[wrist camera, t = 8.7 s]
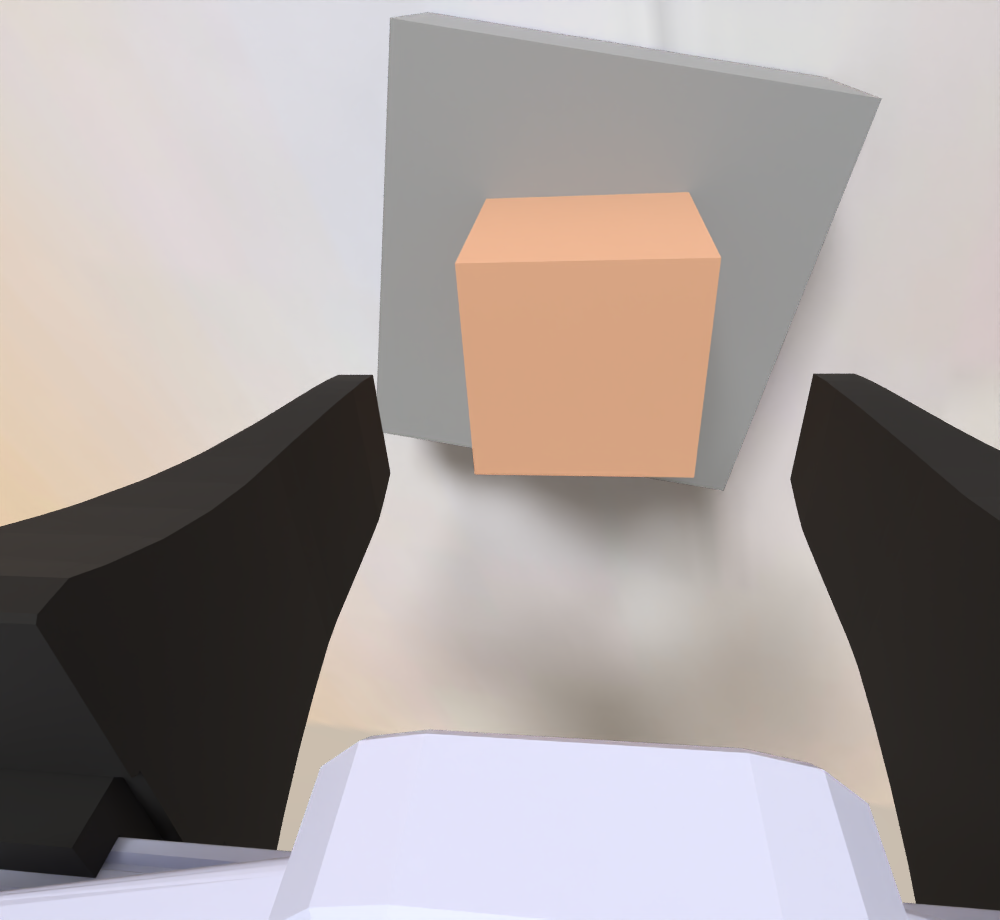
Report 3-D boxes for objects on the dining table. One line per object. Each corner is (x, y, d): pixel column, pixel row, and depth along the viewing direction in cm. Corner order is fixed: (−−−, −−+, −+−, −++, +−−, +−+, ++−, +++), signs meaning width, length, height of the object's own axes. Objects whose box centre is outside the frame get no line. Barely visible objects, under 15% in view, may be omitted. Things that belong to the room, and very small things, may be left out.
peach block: (688, 192, 15) (721, 257, 12) (672, 375, 18) (694, 477, 14) (485, 198, 16) (455, 263, 12) (497, 375, 18) (474, 474, 15)
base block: (825, 77, 17) (881, 98, 14) (703, 418, 23) (723, 490, 20) (428, 12, 17) (390, 18, 14) (405, 368, 23) (375, 431, 20)
